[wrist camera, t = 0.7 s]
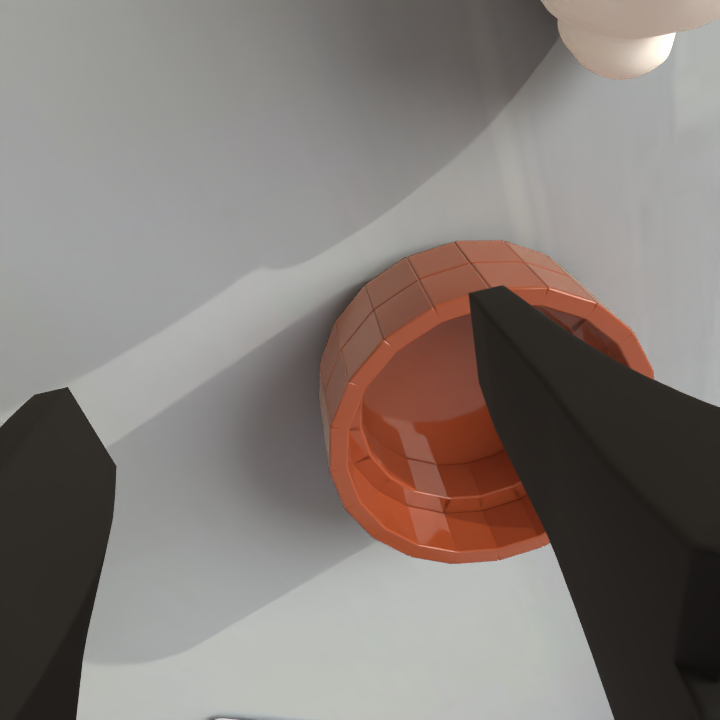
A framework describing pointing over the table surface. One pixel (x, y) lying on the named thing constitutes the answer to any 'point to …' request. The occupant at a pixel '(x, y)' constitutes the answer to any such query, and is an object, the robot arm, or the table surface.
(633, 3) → the rabbit
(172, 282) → the table surface
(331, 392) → the bowl
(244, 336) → the table surface
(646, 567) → the robot arm
